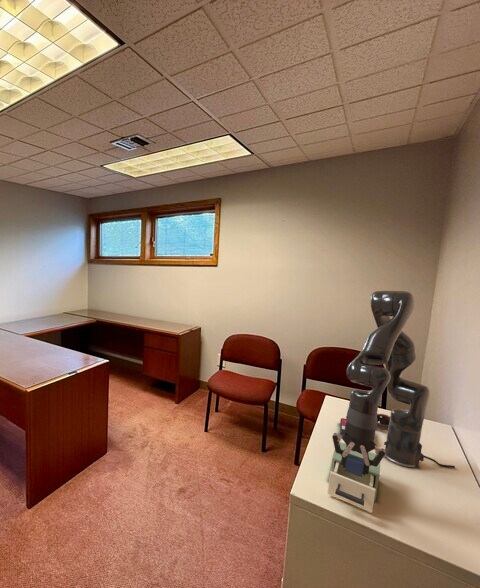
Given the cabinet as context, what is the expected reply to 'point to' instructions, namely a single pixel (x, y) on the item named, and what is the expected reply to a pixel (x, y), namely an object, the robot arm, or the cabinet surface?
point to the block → (354, 465)
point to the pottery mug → (383, 421)
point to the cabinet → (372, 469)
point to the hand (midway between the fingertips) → (354, 470)
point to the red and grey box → (342, 426)
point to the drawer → (352, 487)
